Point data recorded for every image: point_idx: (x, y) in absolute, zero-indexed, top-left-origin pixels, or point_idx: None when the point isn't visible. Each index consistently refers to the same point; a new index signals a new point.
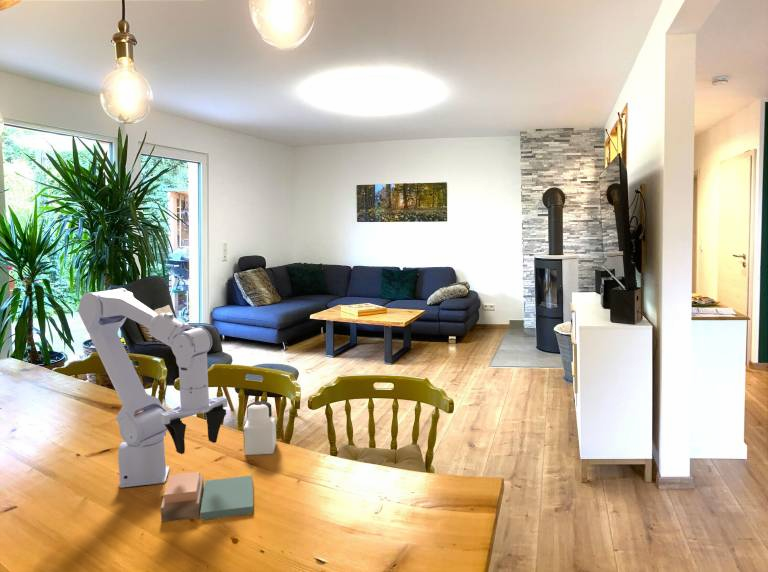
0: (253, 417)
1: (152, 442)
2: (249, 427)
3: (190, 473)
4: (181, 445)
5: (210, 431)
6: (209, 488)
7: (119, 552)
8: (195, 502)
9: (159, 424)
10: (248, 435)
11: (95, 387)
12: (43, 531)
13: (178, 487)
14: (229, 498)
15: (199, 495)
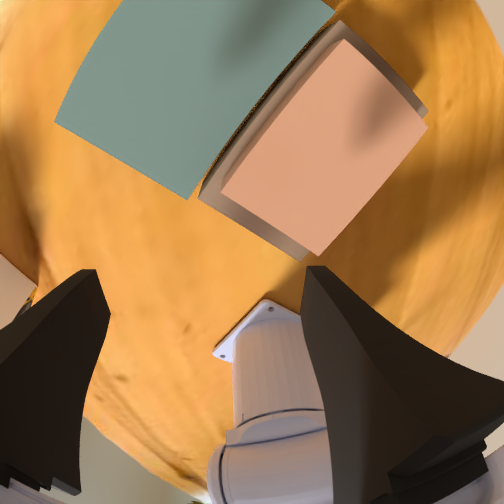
0: None
1: (299, 416)
2: None
3: (259, 206)
4: (355, 293)
5: (82, 345)
6: (209, 131)
7: (493, 92)
8: (344, 33)
9: (264, 470)
10: (2, 314)
11: (188, 492)
12: (486, 272)
13: (370, 128)
14: (204, 11)
15: (303, 62)
